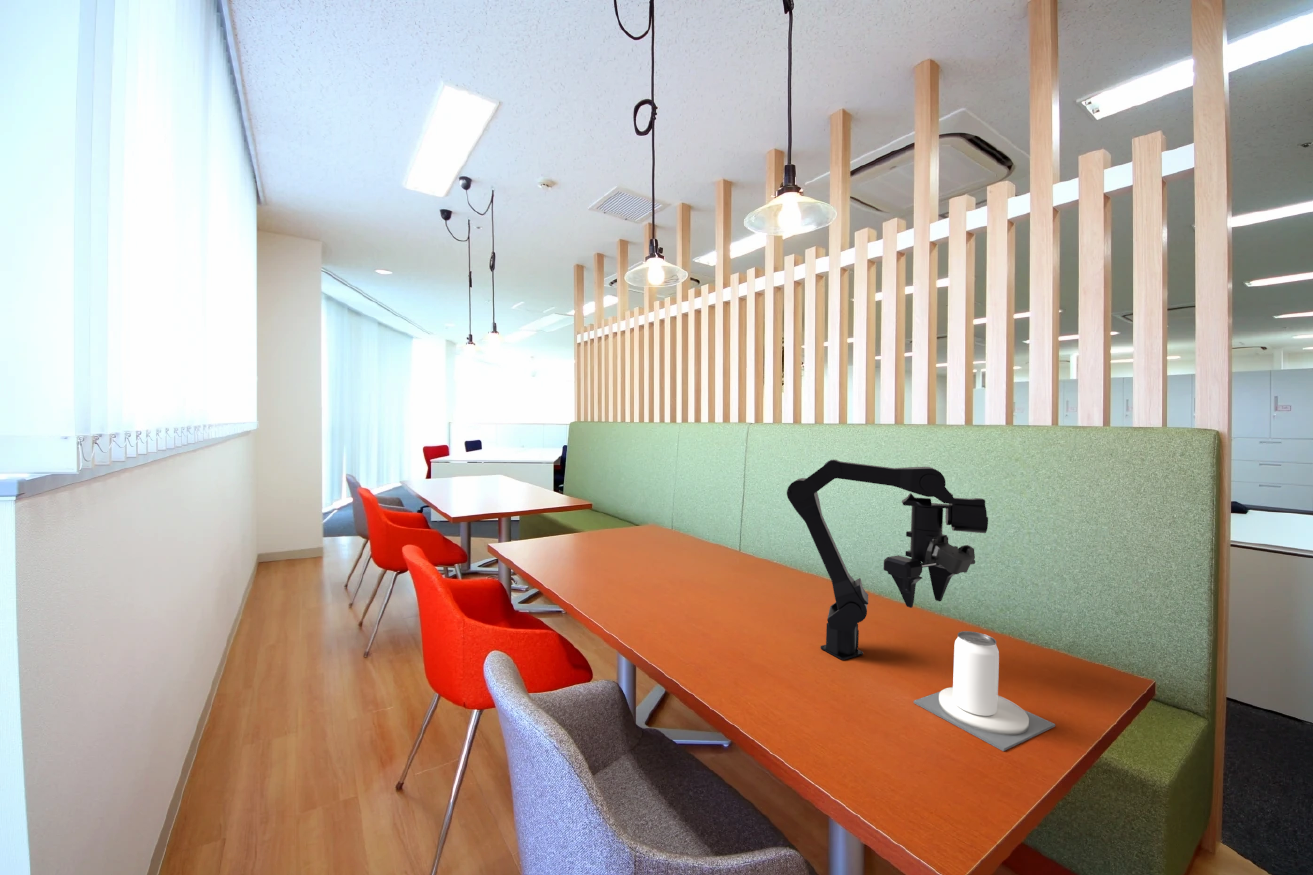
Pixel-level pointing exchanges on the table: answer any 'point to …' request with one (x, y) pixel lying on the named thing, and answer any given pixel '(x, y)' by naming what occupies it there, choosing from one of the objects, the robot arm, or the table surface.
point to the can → (976, 673)
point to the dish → (988, 720)
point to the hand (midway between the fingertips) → (924, 603)
